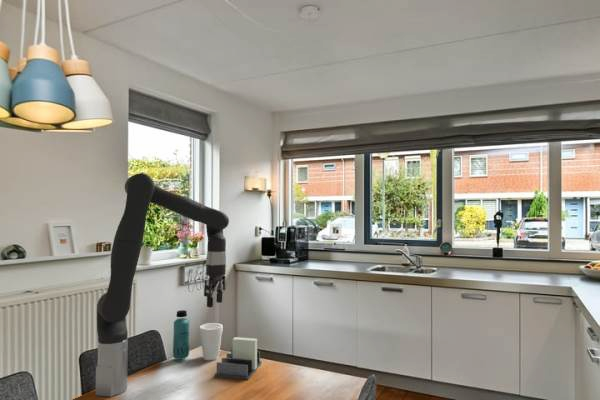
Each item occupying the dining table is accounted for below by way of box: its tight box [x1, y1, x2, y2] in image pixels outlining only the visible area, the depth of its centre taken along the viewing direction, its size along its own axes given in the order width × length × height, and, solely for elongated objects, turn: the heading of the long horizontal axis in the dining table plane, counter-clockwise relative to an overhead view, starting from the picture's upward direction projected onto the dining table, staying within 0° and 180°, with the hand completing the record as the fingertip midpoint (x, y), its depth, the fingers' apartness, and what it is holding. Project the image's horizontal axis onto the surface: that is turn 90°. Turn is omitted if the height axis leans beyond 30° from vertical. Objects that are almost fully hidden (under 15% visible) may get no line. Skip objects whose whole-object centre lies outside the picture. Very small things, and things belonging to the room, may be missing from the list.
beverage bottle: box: [172, 309, 190, 360], centre depth 169 cm, size 6×7×20 cm
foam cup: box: [199, 322, 224, 361], centre depth 172 cm, size 10×9×13 cm
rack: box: [214, 348, 262, 381], centre depth 158 cm, size 16×13×5 cm
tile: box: [232, 336, 258, 370], centre depth 158 cm, size 3×9×11 cm, turn 78°
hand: (214, 304), depth 159 cm, fingers open, 8 cm apart
